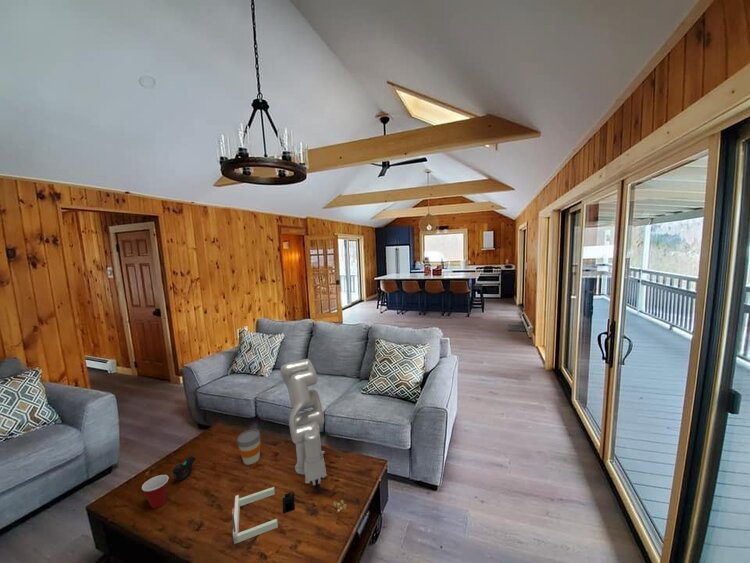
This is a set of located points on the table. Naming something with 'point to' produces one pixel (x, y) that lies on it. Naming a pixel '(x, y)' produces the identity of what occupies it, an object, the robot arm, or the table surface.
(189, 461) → the controller
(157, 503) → the plastic cup
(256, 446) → the reusable coffee cup
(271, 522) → the frame
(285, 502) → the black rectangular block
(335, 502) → the dice set
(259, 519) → the table surface
